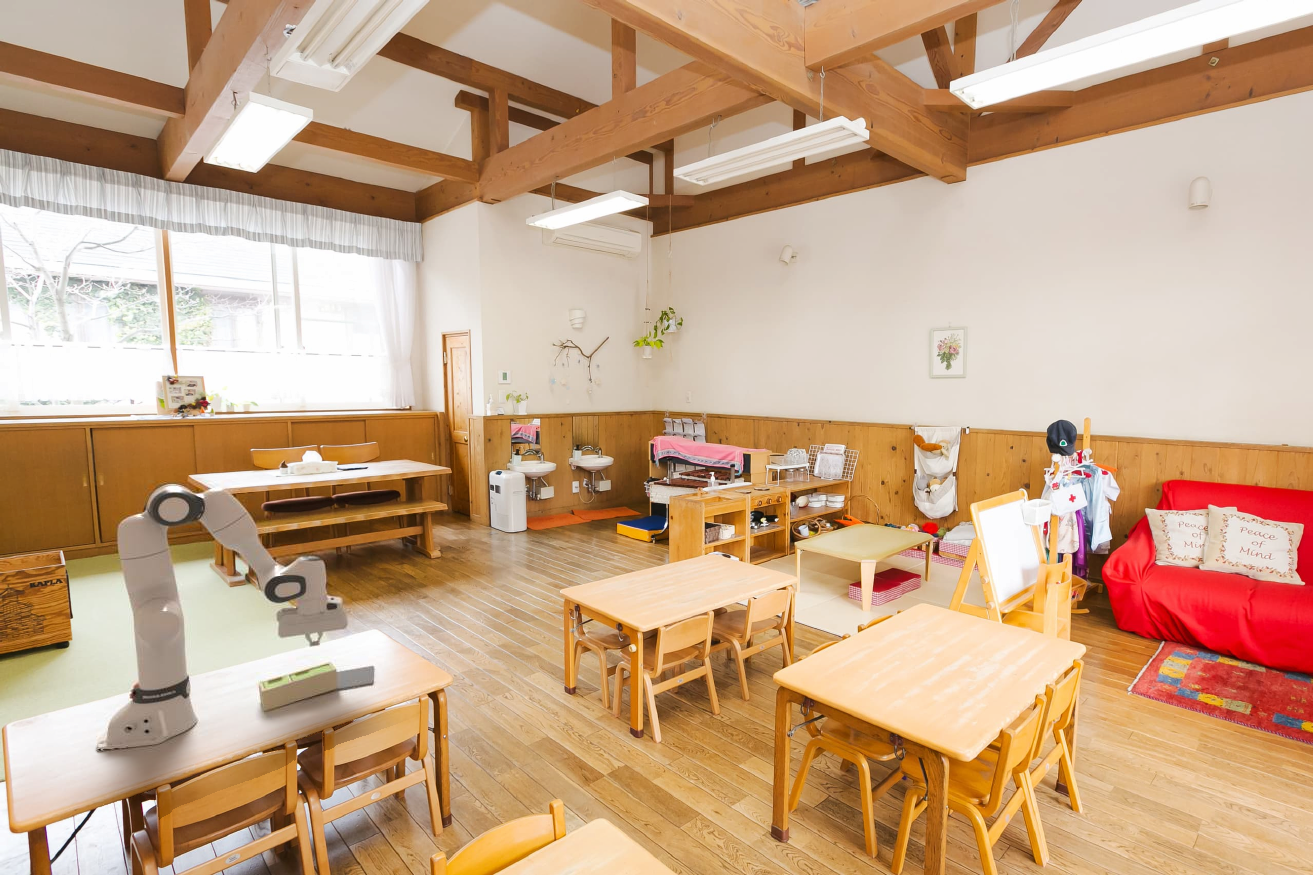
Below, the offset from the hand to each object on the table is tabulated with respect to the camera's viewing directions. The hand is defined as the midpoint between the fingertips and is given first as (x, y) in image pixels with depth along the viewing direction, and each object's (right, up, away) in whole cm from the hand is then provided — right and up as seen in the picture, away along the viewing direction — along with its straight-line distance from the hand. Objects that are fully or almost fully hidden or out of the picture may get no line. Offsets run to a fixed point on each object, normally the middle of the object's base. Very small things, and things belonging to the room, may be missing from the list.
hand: (314, 645), depth 209 cm
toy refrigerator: (+6, -10, +1) cm, 11 cm away
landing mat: (+8, -14, +5) cm, 16 cm away
